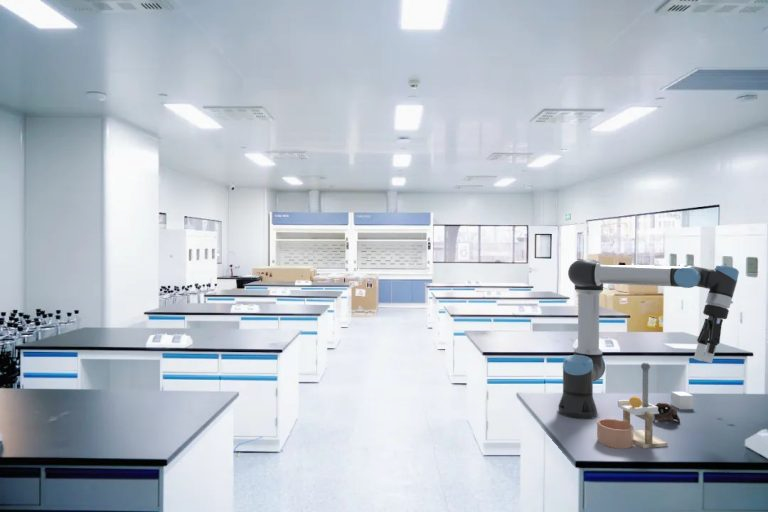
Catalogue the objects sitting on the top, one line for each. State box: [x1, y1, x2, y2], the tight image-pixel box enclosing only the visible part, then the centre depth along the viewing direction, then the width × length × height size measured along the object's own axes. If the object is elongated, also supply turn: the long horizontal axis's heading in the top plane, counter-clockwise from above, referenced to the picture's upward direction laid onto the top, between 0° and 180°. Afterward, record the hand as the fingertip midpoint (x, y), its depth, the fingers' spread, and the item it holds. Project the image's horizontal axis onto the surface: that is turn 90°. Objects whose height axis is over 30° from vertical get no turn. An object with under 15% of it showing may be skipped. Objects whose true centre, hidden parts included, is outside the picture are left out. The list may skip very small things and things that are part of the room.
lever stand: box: [622, 409, 668, 449], centre depth 172 cm, size 10×12×12 cm
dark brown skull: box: [654, 402, 681, 424], centre depth 193 cm, size 12×10×8 cm
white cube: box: [670, 391, 694, 410], centre depth 210 cm, size 6×6×6 cm
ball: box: [628, 396, 642, 408], centre depth 172 cm, size 4×4×4 cm
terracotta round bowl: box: [596, 418, 634, 450], centre depth 170 cm, size 11×11×6 cm
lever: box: [617, 362, 659, 422], centre depth 172 cm, size 9×9×20 cm
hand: (702, 361), depth 178 cm, fingers open, 13 cm apart
